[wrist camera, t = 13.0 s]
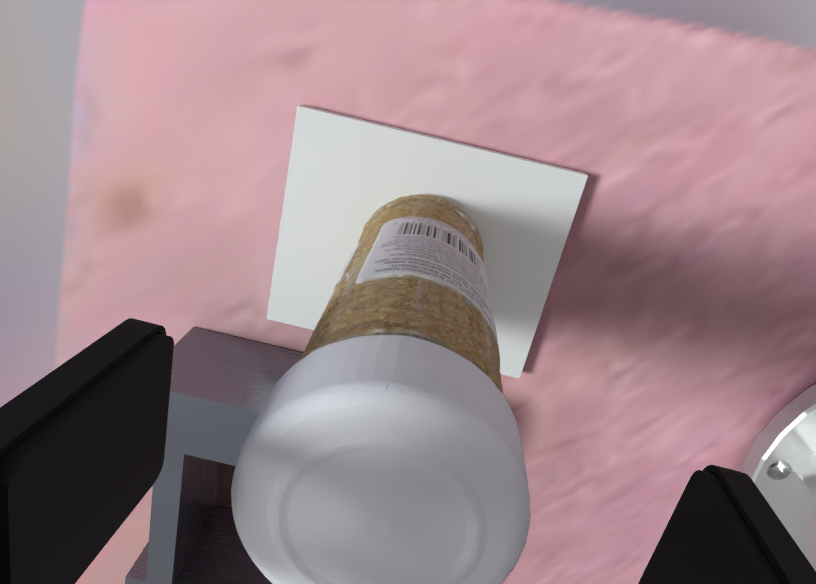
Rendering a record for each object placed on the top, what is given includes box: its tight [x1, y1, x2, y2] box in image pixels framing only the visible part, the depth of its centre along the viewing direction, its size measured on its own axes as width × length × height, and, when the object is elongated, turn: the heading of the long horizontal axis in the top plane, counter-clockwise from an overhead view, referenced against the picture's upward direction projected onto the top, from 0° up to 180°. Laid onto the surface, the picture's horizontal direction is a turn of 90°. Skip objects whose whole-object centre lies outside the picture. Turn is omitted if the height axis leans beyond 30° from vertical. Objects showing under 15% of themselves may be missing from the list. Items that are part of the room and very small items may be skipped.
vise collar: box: [125, 327, 303, 584], centre depth 23 cm, size 10×11×4 cm
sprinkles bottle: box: [231, 194, 530, 584], centre depth 15 cm, size 5×4×14 cm
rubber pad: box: [267, 105, 588, 378], centre depth 21 cm, size 10×8×1 cm
